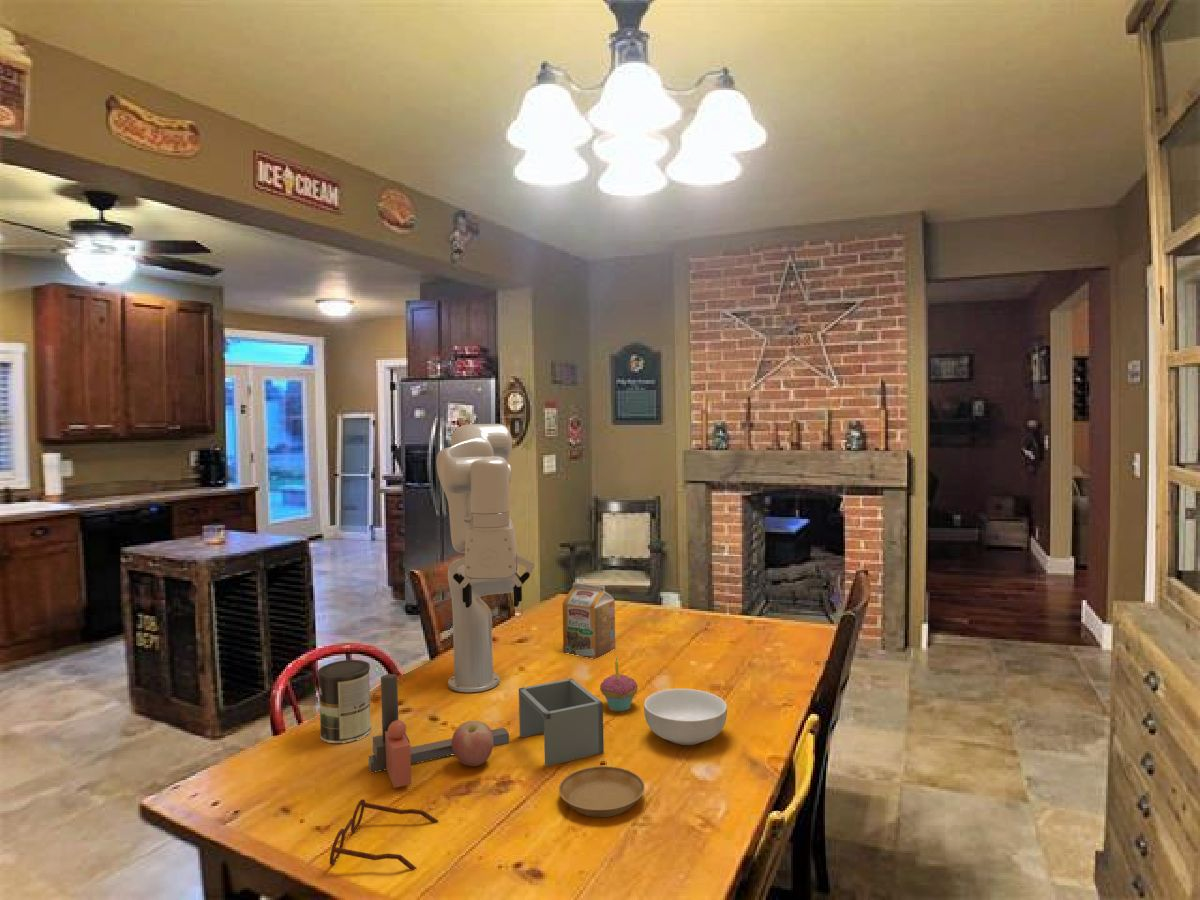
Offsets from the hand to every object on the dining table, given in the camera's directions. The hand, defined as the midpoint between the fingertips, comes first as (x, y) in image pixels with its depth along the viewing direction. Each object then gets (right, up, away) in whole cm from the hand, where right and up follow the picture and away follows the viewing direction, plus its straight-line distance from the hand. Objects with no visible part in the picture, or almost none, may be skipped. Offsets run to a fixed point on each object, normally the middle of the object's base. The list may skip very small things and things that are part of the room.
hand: (492, 605), depth 146 cm
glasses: (-12, -31, -33) cm, 47 cm away
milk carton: (+19, -26, +58) cm, 66 cm away
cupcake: (+26, -27, +19) cm, 42 cm away
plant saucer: (+22, -29, -21) cm, 42 cm away
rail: (-10, -29, -3) cm, 30 cm away
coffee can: (-32, -29, +7) cm, 44 cm away
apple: (-3, -29, -8) cm, 30 cm away
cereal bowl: (+39, -28, +3) cm, 48 cm away
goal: (+14, -28, 0) cm, 31 cm away
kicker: (-16, -28, -11) cm, 34 cm away
